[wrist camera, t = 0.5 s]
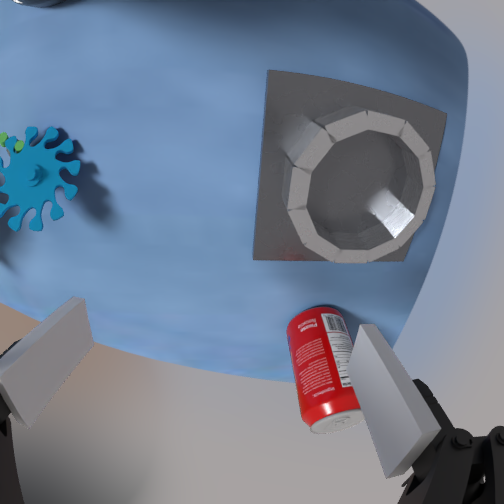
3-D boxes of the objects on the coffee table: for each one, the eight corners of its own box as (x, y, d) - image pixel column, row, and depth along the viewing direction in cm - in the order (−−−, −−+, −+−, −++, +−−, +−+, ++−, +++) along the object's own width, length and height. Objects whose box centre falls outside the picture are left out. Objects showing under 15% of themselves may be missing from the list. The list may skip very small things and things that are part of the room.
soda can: (343, 296, 34) (383, 401, 21) (339, 333, 38) (368, 425, 26) (282, 307, 34) (303, 421, 22) (287, 343, 39) (303, 440, 26)
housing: (267, 70, 19) (274, 68, 16) (441, 111, 20) (466, 120, 17) (252, 254, 29) (255, 279, 26) (399, 256, 31) (414, 277, 27)
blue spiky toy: (101, 180, 21) (21, 256, 17) (96, 193, 26) (31, 255, 22) (45, 96, 17) (-35, 163, 13) (47, 121, 22) (-18, 178, 18)
